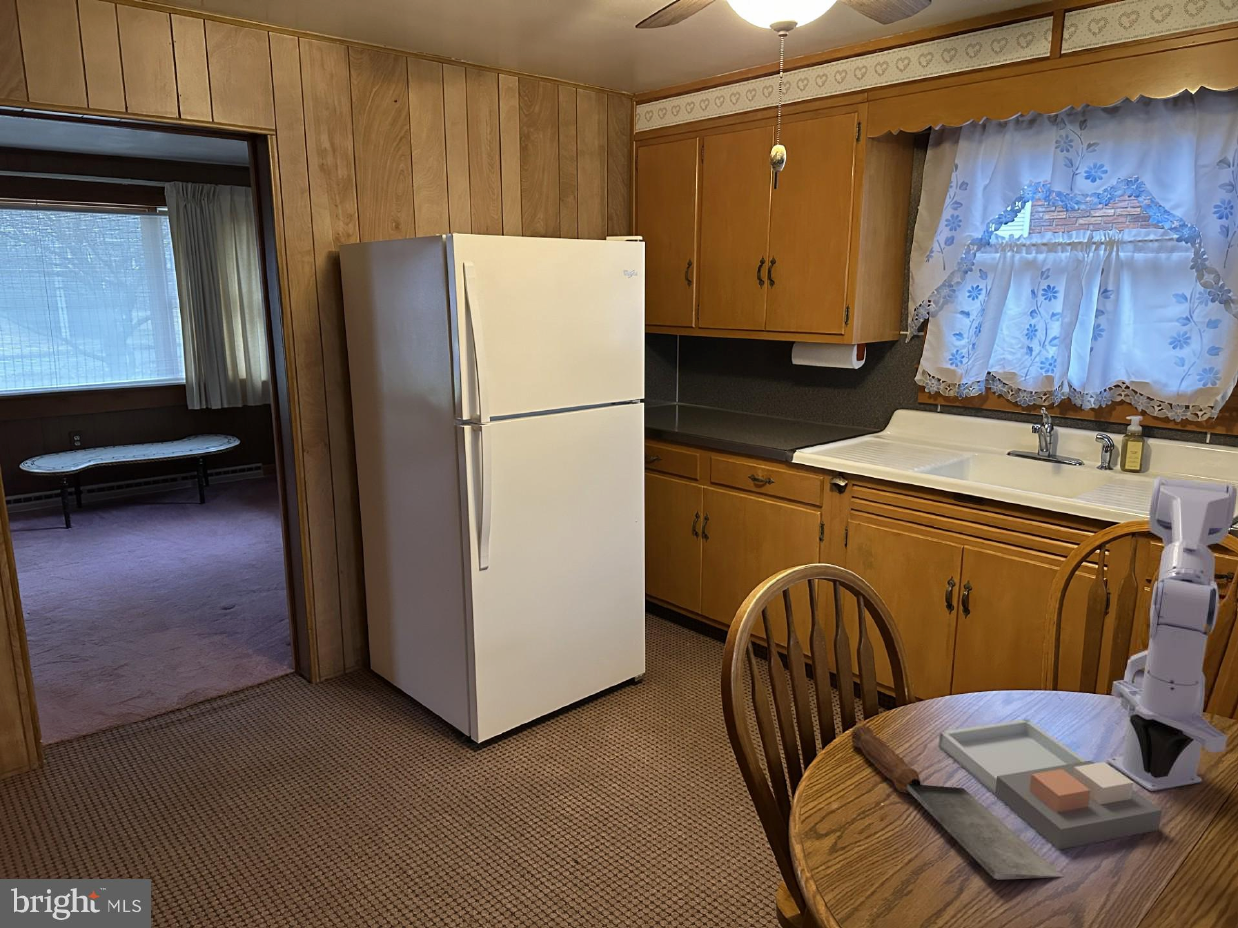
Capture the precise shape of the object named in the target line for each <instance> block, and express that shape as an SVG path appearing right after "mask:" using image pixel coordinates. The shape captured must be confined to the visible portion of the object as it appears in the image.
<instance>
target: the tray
mask: <svg viewBox="0 0 1238 928" xmlns="http://www.w3.org/2000/svg"><path fill="white" fill-rule="evenodd" d="M938 747H939V748H940V749H941V750H942V752H945V753H946V754H947V755H948V756H949V757H950V758H951V759H952V760H954V761H955V762H956V763H957V764H958V765H960V766H961V767H962V768H963V769H964V770H965V771H966V772H968V773H969V774H970V775H971V776H972V777H973V778H975V779H976V780H977V781H978V782H979V783H980V784H981V785H982V786H984V787H985V788H986V789H987V790H988V791H990V793H992V795H994V796H995V790H996V781H997V776H1001V775H1007V774H1013V773H1019V772H1025V771H1031V770H1037V769H1043V768H1049V767H1055V766H1061V765H1067V764H1073V763H1079V762H1085V761H1087V760H1086V759H1085V758H1083V757H1082V756H1080V755H1079V754H1077V753H1076V752H1074V751H1073V750H1072V749H1070V748H1069V747H1067V746H1066V745H1064V743H1061V742H1060V741H1059V740H1057V739H1056V738H1054V737H1053V736H1052V735H1051V734H1049V733H1048V732H1047V731H1045V730H1043V729H1042V728H1040V727H1039V726H1038V725H1036V724H1035V723H1034V722H1032V721H1030V720H1029V719H1027V718H1024V719H1018V720H1017V719H1016V720H1010V721H1005V722H1004V721H1003V722H997V723H991V724H985V725H978V726H977V725H976V726H971V727H963V728H957V729H950V730H943V731H939V738H938Z"/></svg>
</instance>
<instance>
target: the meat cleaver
mask: <svg viewBox="0 0 1238 928" xmlns="http://www.w3.org/2000/svg"><path fill="white" fill-rule="evenodd" d="M851 743H852V744H853V746H854V747H856V748H857V749H860V750H861V751H862V753H863V755H864V756H865V757H866V758H867V759H868V760H869V761H870V763H872V764H873V765H874V766H875V767H876V768H877V770H879V771H880V772H881V773H882V774H883V776H885V777H886V778H888V779H889V780H890V781H892V782H893V784H894V786H895V788H896V790H897V791H898V792H900V793H904V794H909V795H912V796H913V797H914V799H916V800H917V802H919V804H920V805H922V806H923V807H924V809H925V810H926V811H927V812H928V813H929V814H930V815H931V816H932V817H933V818H934V819H935V820H936V821H937V822H938V823H939V824H940V825H941V826H942V827H943V828H944V829H945V830H946V831H947V832H948V833H949V834H950V835H951V836H952V837H953V838H954V840H956V841H957V843H959V844H960V846H962V847H963V848H964V849H965V851H967V852H968V854H969V855H970V856H972V858H974V859H975V861H976V862H977V863H978V864H979V865H981V867H982V868H984V870H986V872H987V873H988V874H989V875H990V876H991V877H992V878H993V879H994V880H1017V879H1018V880H1019V879H1044V878H1045V879H1047V878H1064V875H1063V874H1062V873H1061V872H1059V871H1058V869H1056V868H1055V867H1054V866H1052V864H1051V863H1049V862H1048V861H1047V859H1046V858H1044V857H1043V856H1041V855H1040V854H1039V853H1038V852H1037V851H1035V849H1033V848H1032V847H1031V846H1030V845H1029V844H1028V843H1026V842H1025V841H1024V840H1023V839H1022V838H1021V837H1020V836H1019V835H1017V834H1016V833H1015V832H1014V831H1013V830H1012V829H1011V828H1009V827H1008V826H1007V825H1006V824H1005V823H1004V822H1002V820H1000V819H999V818H998V816H996V815H995V814H993V812H991V811H990V809H988V808H986V807H985V805H983V804H982V803H981V802H980V801H979V800H977V799H976V797H975V796H973V795H972V794H971V793H970V792H968V791H967V790H966V789H965V788H964V787H953V786H944V785H943V786H941V785H940V786H939V785H930V784H929V785H926V784H922V783H921V780H920V775H919V773H918V771H917V770H915V769H914V768H912V767H910V766H908V764H907V763H906V762H905V760H904V759H902V758H901V756H899V755H898V754H897V752H895V751H894V750H893V749H892V748H891V747H890V746H889V745H887V743H885V741H884V740H882V739H881V738H880V737H878V736H876V735H875V734H874V731H873V730H872V728H871V727H869V726H863V725H857V726H856V727H854V728H852V730H851Z"/></svg>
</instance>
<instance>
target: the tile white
mask: <svg viewBox="0 0 1238 928" xmlns="http://www.w3.org/2000/svg"><path fill="white" fill-rule="evenodd" d="M1094 763H1095V762H1094ZM1073 777H1074V778H1075V779H1076V780H1078V781H1079V782H1080V783H1082V784H1083V785H1084V786H1086V787H1087V788H1088V789H1090V797H1091V798H1092V799H1094V800H1095V801H1096V802H1098V803H1099V804H1100V805H1101V804H1106V803H1111V802H1117V801H1122V800H1128V799H1131V795H1132V790H1134V789H1133V788H1134V782H1133V781H1132V780H1131V779H1130V778H1128V777H1126V776H1125V775H1123V774H1122V773H1120V772H1119V770H1118V771H1117V770H1116V769H1115V768H1113V766H1111V765H1109V764H1108V763H1106V762H1105V761H1102V762H1096V763H1095V764H1089V765H1083V766H1077V767H1074V771H1073Z"/></svg>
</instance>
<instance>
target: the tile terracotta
mask: <svg viewBox="0 0 1238 928" xmlns="http://www.w3.org/2000/svg"><path fill="white" fill-rule="evenodd" d="M1029 791H1031V792H1032V793H1033V794H1034V795H1036V796H1037V797H1038V798H1039V799H1041V800H1042V801H1043V802H1044V803H1045V804H1047V805H1048V806H1049V807H1050V808H1052V809H1053V810H1054V811H1055V812H1062V811H1068V810H1073V809H1079V808H1084V807H1088V804H1089V797H1090V789H1088V788H1087V787H1086V786H1084V785H1083V784H1082V783H1080V782H1079V781H1078V780H1076V779H1075V778H1074V777H1072V776H1071V775H1069V774H1068V773H1067V772H1065V771H1064V770H1063V769H1059V770H1053V771H1047V772H1041V773H1035V774H1031V782H1030V790H1029Z"/></svg>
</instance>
